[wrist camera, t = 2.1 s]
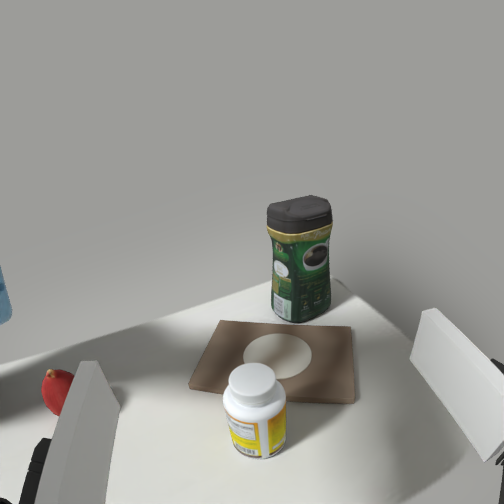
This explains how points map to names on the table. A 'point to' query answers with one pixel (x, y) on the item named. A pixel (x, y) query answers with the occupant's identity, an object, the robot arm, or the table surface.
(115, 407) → the robot arm
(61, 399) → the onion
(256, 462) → the table surface
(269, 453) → the supplement bottle
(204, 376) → the brown flat board
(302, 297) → the coffee jar
